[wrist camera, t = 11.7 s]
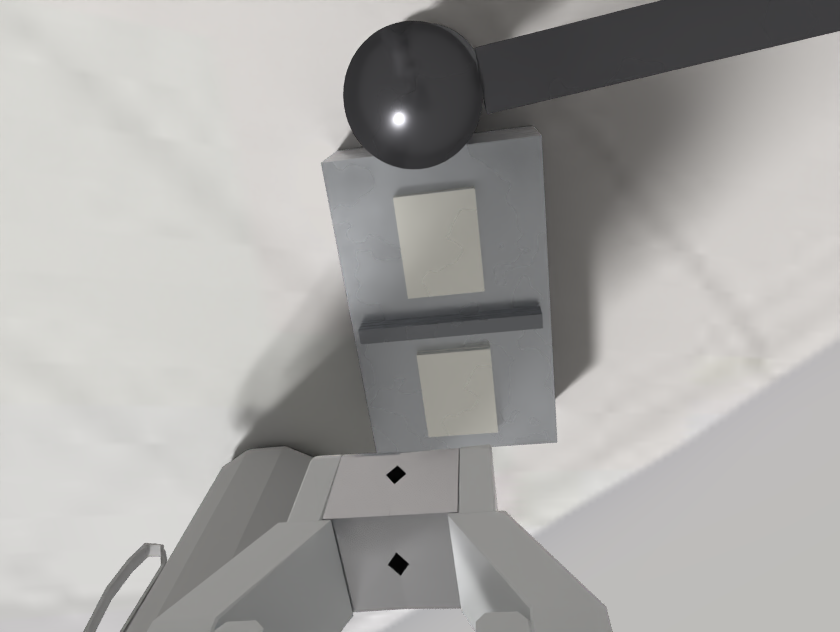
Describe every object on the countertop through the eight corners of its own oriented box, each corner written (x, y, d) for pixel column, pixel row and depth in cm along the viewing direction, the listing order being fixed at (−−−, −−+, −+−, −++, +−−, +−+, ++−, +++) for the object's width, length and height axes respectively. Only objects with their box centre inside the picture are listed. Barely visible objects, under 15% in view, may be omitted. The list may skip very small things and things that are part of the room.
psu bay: (336, 150, 25) (315, 166, 21) (533, 125, 24) (544, 138, 21) (385, 417, 30) (374, 465, 27) (548, 405, 29) (559, 453, 26)
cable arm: (377, 165, 21) (358, 189, 17) (345, 42, 20) (318, 40, 16) (983, 26, 18) (1114, 19, 15) (1001, -131, 17) (1151, -182, 13)
